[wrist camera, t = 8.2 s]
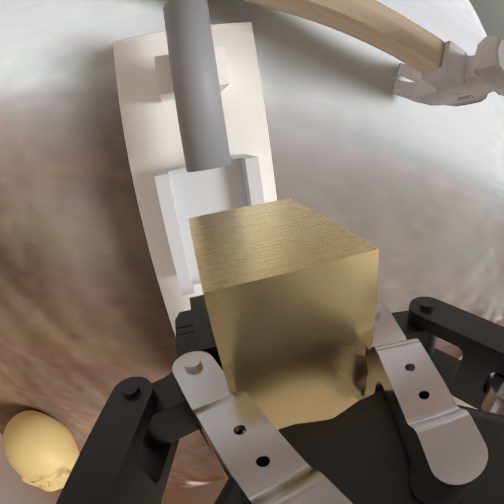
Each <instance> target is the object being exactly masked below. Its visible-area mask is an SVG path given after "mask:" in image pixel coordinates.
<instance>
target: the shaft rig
mask: <svg viewBox="0 0 504 504" xmlns="http://www.w3.org/2000/svg"><path fill="white" fill-rule="evenodd" d="M163 10H164V19H165V28H166V31H164V32H158V33H153V34H148V35H143V36H139V37H134V38H130V39H126V40H122V41H118V42H114V43H113V55H114V65H115V74H116V82H117V90H118V98H119V105H120V112H121V118H122V125H123V131H124V137H125V143H126V148H127V154H128V159H129V164H130V169H131V174H132V179H133V184H134V188H135V193H136V198H137V202H138V206H139V211H140V215H141V219H142V223H143V227H144V231H145V235H146V239H147V243H148V247H149V251H150V255H151V258H152V262H153V265H154V269H155V273H156V276H157V280H158V283H159V286H160V290H161V293H162V296H163V300H164V303H165V306H166V309H167V312H168V316H169V319H170V322H171V325H172V328H173V331H174V334H175V337H176V331H175V330H176V329H175V319H176V318H177V316H178V314H179V312H183V311H187V310H191V307H190V299H189V298H191V297H195V296H200V295H203V290H202V286H201V281H200V276H199V271H198V266H197V261H196V257H195V251H194V246H193V241H192V236H191V231H190V225H189V220H188V218H192V217H197V216H202V215H206V214H211V213H216V212H221V211H226V210H231V209H236V208H241V207H246V206H251V205H256V204H261V203H266V202H272V201H277V197H276V188H275V180H274V172H273V164H272V157H271V149H270V142H269V134H268V127H267V120H266V113H265V106H264V99H263V92H262V85H261V78H260V72H259V65H258V59H257V53H256V47H255V40H254V34H253V28H252V22H241V23H226V24H214V25H211V23H210V16H209V9H208V2H207V0H172V1H170V2H168V3H167V4H166V5H165V6H164V8H163Z"/></svg>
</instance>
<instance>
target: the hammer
mask: <svg viewBox="0 0 504 504" xmlns="http://www.w3.org/2000/svg"><path fill="white" fill-rule="evenodd" d="M243 1H247V2H250V3H254V4H257V5H261V6H264V7H268V8H271V9H275V10H278V11H282V12H285V13H289V14H292V15H295V16H299V17H302V18H305V19H308V20H311V21H314V22H317V23H319V24H322V25H325V26H328V27H330V28H333V29H336V30H338V31H341V32H343V33H345V34H348V35H350V36H352V37H355V38H357V39H359V40H361V41H363V42H365V43H368V44H370V45H372V46H374V47H376V48H378V49H380V50H382V51H384V52H386V53H388V54H390V55H392V56H394V57H395V58H397V59H399V60H400V61H402V62H404V63H405V64H401V63H400V65H399V69H398V73H397V74H398V75H400V76H402V77H405V78H407V79H410V80H412V81H415V82H405V81H400V80H395V83H394V87H393V90H392V93H393V94H395V95H398V96H401V97H404V98H407V99H410V100H412V101H415V102H419V103H423V104H427V105H449V106H460V105H467V104H473V103H477V102H481V101H483V100H484V99H486V97H487V95H488V93H490V92H493V91H495V92H496V93H497V94H499V95H503V96H504V40H503V39H501V38H499V37H494V36H490V37H485V38H484V39H483V40H482V41H481V42H480V43H479V44H478V46H477V50H476V53H475V55H473V56H468V55H467V54H466V52H465V51H464V50H462V49H461V48H460V47H459V46H457V45H456V44H455V43H453V42H452V41H448V42H445V43H444V42H443V41H442V40H441V39H440V38H438V37H437V36H435V35H433V34H432V33H430V32H429V31H427V30H425V29H424V28H422V27H420V26H419V25H417V24H415V23H414V22H412V21H411V20H409V19H407V18H406V17H404V16H402V15H401V14H399V13H397V12H396V11H394V10H392V9H390V8H388V7H387V6H385V5H383V4H381V3H379V2H377V1H375V0H243ZM406 64H407V65H406Z"/></svg>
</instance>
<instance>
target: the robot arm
mask: <svg viewBox="0 0 504 504" xmlns="http://www.w3.org/2000/svg"><path fill="white" fill-rule="evenodd" d="M189 299H190V307H191V310H187V311H183V312H179V314H178V316H177V318H176V319H175V329H176V330H175V331H176V347H177V360H176V361H175V362H174V364H173V367H172V372H171V373H170V374H169V375H168V376H166V377H165V378H163V379H161V380H158V381H156V382H154V383H151V382H150V381H149V380H148V379H146V378H143V377H130V378H127V379H125V380H123V381H121V382H120V383H118V384H117V385H116V386H115V388H114V389H113V391H112V393H111V395H110V397H109V398H108V400H107V402H106V404H105V406H104V408H103V410H102V412H101V413H100V415H99V417H98V419H97V421H96V423H95V425H94V427H93V429H92V431H91V433H90V435H89V437H88V438H87V440H86V442H85V444H84V446H83V448H82V450H81V452H80V454H79V456H78V458H77V460H76V462H75V465H74V467H73V469H72V471H71V473H70V475H69V477H68V479H67V481H66V483H65V485H64V487H63V490H62V492H61V494H60V496H59V498H58V500H57V503H56V504H161V500H162V497H163V494H164V490H165V487H166V483H167V480H168V476H169V473H170V469H171V466H172V463H173V459H174V456H175V452H176V449H177V446H178V442H179V439H180V438H182V437H184V436H186V435H188V434H190V433H192V432H194V431H196V430H198V429H199V431H200V433H201V435H202V436H203V438H204V440H205V442H206V443H207V445H208V447H209V449H210V450H211V452H212V454H213V455H214V457H215V459H216V460H217V462H218V464H219V466H220V468H221V469H222V471H223V473H224V474H225V476H226V478H227V479H228V481H227V482H226V484H225V486H224V488H223V489H222V491H221V493H220V494H219V496H218V498H217V500H216V502H215V503H214V504H504V327H503V326H500V325H498V324H495V323H493V322H491V321H488V320H486V319H483V318H481V317H479V316H476V315H474V314H471V313H469V312H467V311H464V310H462V309H459V308H457V307H454V306H452V305H449V304H447V303H444V302H442V301H440V300H437V299H434V298H431V297H418V298H415V299H413V300H412V301H411V302H410V305H409V311H403V312H396V313H391V312H390V310H389V309H388V308H387V307H385V306H383V305H380V304H376V313H375V324H374V334H373V342H372V343H370V344H367V345H366V350H365V359H366V362H367V367H368V376H367V383H366V389H365V390H362V391H360V397H359V401H357V402H356V403H355V404H353V405H352V406H350V407H349V408H347V409H346V410H345V411H343V412H342V413H340V414H339V415H337V416H336V417H334V418H332V419H329V420H322V421H315V422H308V423H300V424H294V425H291V426H287V427H284V428H281V429H278V430H277V429H276V428H275V426H274V425H273V424H272V423H271V422H270V421H269V419H268V418H267V417H266V416H265V415H264V413H263V412H262V411H261V410H260V409H259V407H258V406H257V405H256V404H255V402H254V401H253V400H252V399H251V398H250V396H249V395H248V394H247V393H246V392H245V391H244V390H239V391H238V390H237V389H236V388H235V387H230V388H228V385H227V382H226V378H225V375H224V371H223V368H222V364H221V360H220V357H219V353H218V349H217V346H216V342H215V338H214V334H213V331H212V327H211V323H210V319H209V315H208V311H207V307H206V303H205V299H204V295H200V296H195V297H191V298H189ZM438 337H439V338H441V339H443V340H445V341H447V342H450V343H452V344H454V345H456V346H458V347H459V348H460V349H461V350H462V353H463V358H462V360H461V361H460V360H458V359H456V358H454V357H452V356H450V355H448V354H446V353H444V352H442V351H440V350H438V349H436V348H435V346H436V342H437V338H438ZM452 395H453V396H454V397H456V398H458V399H460V400H462V401H464V402H466V403H468V404H469V405H471V406H473V407H475V408H477V409H479V410H477V409H473V408H468V407H464V406H460V405H457V404H456V402H455V401H454V399H453V397H452Z"/></svg>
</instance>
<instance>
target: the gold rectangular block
mask: <svg viewBox="0 0 504 504" xmlns="http://www.w3.org/2000/svg"><path fill="white" fill-rule="evenodd" d="M188 220H189V225H190V231H191V236H192V241H193V246H194V251H195V257H196V261H197V266H198V271H199V276H200V281H201V286H202V290H203V295H204V299H205V303H206V307H207V311H208V315H209V319H210V323H211V327H212V331H213V334H214V338H215V342H216V346H217V349H218V353H219V357H220V360H221V364H222V368H223V371H224V375H225V378H226V382H227V385H228V388H230V387H235V388H236V389H237V390H238V391H239V390H244V391H245V392H246V393H247V394H248V395H249V396H250V398H251V399H252V400H253V401H254V402H255V404H256V405H257V406H258V407H259V409H260V410H261V411H262V412H263V413H264V415H265V416H266V417H267V418H268V419H269V421H270V422H271V423H272V424H273V425H274V426H275V428H276V429H277V430H278V429H281V428H284V427H287V426H291V425H294V424H300V423H308V422H315V421H322V420H329V419H332V418H334V417H336V416H337V415H339V414H340V413H342V412H343V411H345V410H346V409H347V408H349V407H350V406H352V405H353V404H355V403H356V402H357V401H359V397H360V391H362V390H365V389H366V383H367V376H368V367H367V362H366V359H365V350H366V345H367V344H370V343H372V342H373V334H374V324H375V313H376V300H377V284H378V262H379V249H378V248H376V247H374V246H373V245H371V244H369V243H368V242H366V241H364V240H363V239H361V238H359V237H358V236H356V235H354V234H352V233H351V232H349V231H347V230H345V229H344V228H342V227H340V226H338V225H337V224H335V223H333V222H331V221H330V220H328V219H326V218H324V217H323V216H321V215H319V214H317V213H315V212H314V211H312V210H310V209H308V208H306V207H304V206H303V205H301V204H299V203H297V202H295V201H293V200H291V199H290V198H288V199H283V200H277V201H272V202H266V203H261V204H256V205H251V206H246V207H241V208H236V209H231V210H226V211H221V212H216V213H211V214H206V215H202V216H197V217H192V218H188Z"/></svg>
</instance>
